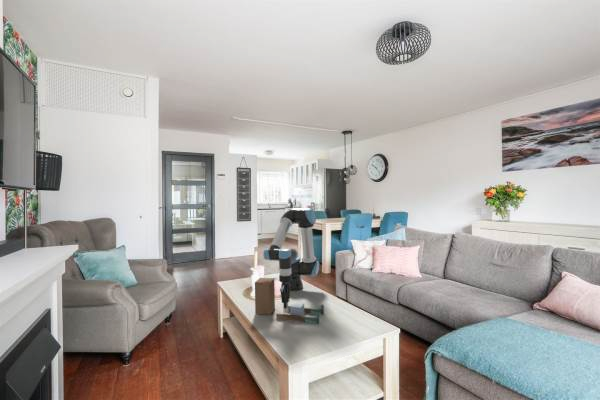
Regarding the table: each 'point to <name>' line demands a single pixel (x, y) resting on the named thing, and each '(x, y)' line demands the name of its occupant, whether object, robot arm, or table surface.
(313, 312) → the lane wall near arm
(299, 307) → the slate block
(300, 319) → the lane wall camera side
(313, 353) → the table surface
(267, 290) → the wooden block
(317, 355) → the table surface
